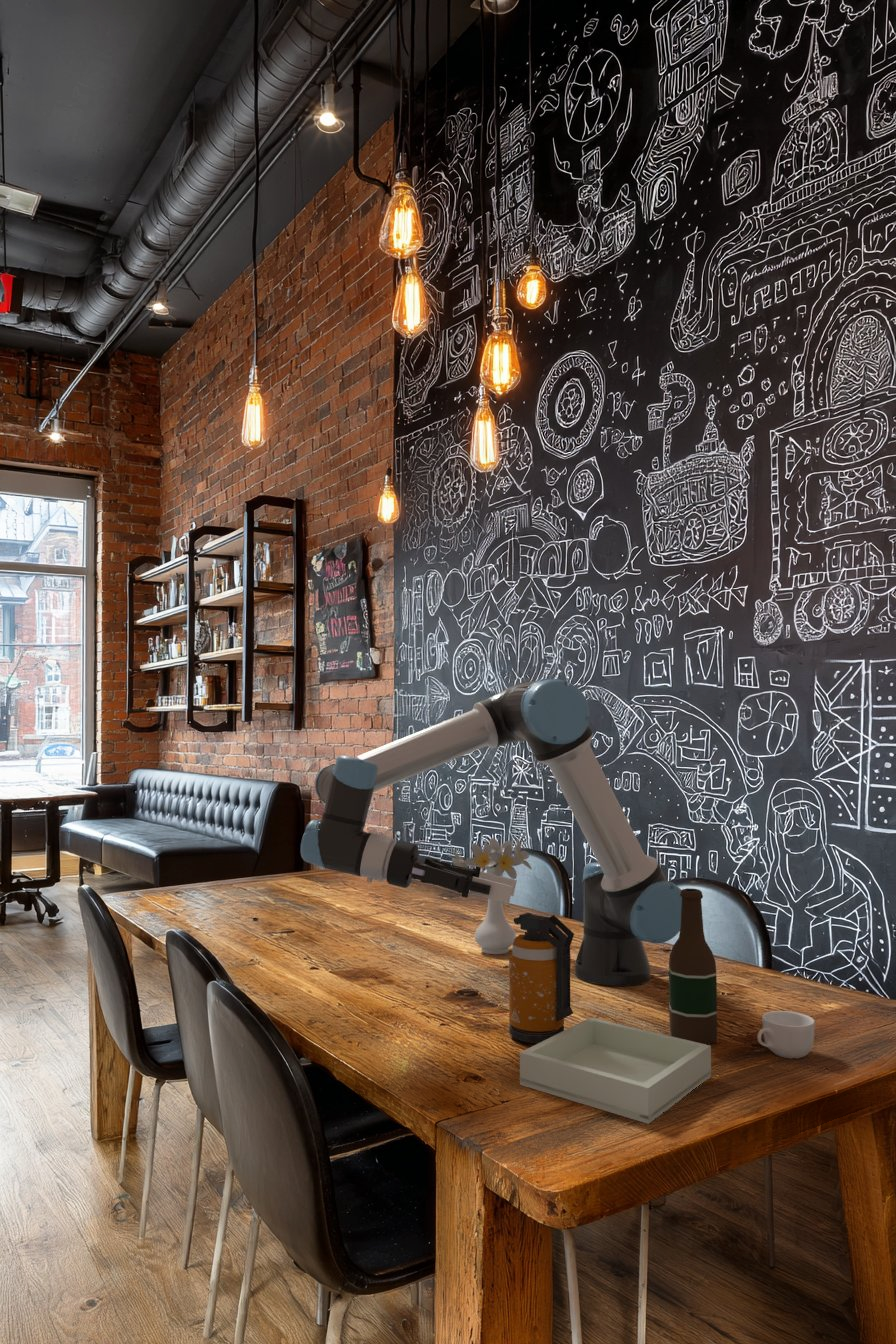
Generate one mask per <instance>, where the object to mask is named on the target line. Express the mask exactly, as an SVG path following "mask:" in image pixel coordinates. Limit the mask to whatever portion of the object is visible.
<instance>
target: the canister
mask: <svg viewBox="0 0 896 1344" xmlns="http://www.w3.org/2000/svg"><path fill="white" fill-rule="evenodd" d="M513 923H514V924H515V925H520V927H519V929H520V930H523V931H525V932H524V934H521V935H518V936H516V938H515V939H514V942H513V945H512V953H511V955H510V956H509V957H508V959H509V961H508V966H509V967H508V969H509V970H508V972H509V973H508V982H509V983H508V998H509V999H508V1002H509V1003H508V1004H509V1006H508V1014H509V1015H508V1019H509V1020H508V1021H509V1022H508V1023H509V1024H508V1030H509V1031H508V1033H509V1035H510V1036H511V1037H513V1038H514V1039H517V1040H519V1041H520V1042H521V1041H522V1042H523V1043H526V1044H531V1045H532V1044H533V1045H536V1044H538V1043H540V1042H542V1041H544V1040H546V1039H548V1038H550V1037H552V1036H554V1035H556V1034H558V1033H560V1032H562V1031H564V1030H565V1018H567V1017H569V1016H571V1015H573V1014H574V1012H573V1009H572V1006H571V960H572V959H571V957H572V956H571V954H572V953H571V945H572V941H573V938H574V937H575V936H574V935H575V933H574V932H573V931H572V930H571V929H570V928H569V927H567V925H566V924H564V923H563V922H562V921H561V920H560V919H559V918H557V916H555V915H554V914H553V915H551V916H542V915H537V914H533V913H530V912H526V913H522V914H519V916H517V917H515V918H513Z"/></svg>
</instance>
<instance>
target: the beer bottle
mask: <svg viewBox="0 0 896 1344" xmlns="http://www.w3.org/2000/svg"><path fill="white" fill-rule="evenodd" d="M680 896H681V897H682V906H681V926H680V932H679V933H678V935H679V936H678V938H677V939H676V942H674V944H673V946H672V947H671V950H670V954H669V957H668V959H669V960H668V995H669V996H668V1007H669V1008H668V1009H669V1010H668V1011H669V1013H668V1014H669V1016H668V1018H669V1019H668V1020H669V1033H670V1036H672V1037H676V1038H681V1039H685V1040H689V1041H693V1042H698V1043H702V1044H708V1045H710V1044H713V1043H715V1041H717V1037H718V1000H717V999H718V997H717V996H718V994H717V993H718V992H717V991H718V990H717V989H718V988H717V987H718V985H717V982H718V981H717V980H718V979H717V964H716V959H715V956H714V953H713V952H712V949H711V948H710V946H709V945H708V942H707V941H706V938H705V937H706V936H705V932H704V922H703V921H704V919H703V906H702V904H703V903H702V899H703V898H704V896H703V892H702V891H701V889H697V888H683V889H681V893H680ZM712 1042H713V1043H712ZM709 1043H710V1044H709Z"/></svg>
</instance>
